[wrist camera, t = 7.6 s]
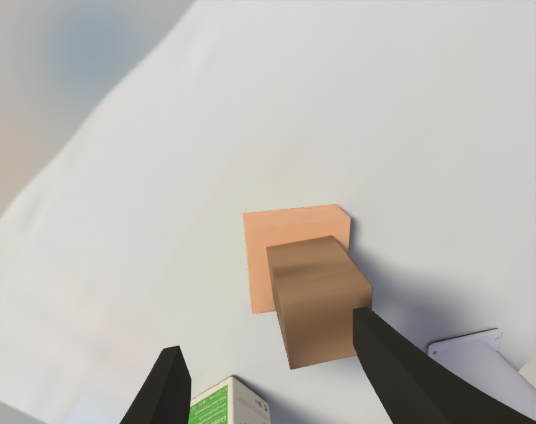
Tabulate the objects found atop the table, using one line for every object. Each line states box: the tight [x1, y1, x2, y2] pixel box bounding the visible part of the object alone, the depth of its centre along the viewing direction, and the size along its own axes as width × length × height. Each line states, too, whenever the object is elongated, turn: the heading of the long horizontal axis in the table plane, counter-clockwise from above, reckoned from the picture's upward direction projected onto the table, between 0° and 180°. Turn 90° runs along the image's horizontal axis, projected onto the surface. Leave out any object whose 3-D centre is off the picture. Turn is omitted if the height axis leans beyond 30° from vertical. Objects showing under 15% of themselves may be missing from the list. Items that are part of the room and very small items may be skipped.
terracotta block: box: [243, 204, 351, 314], centre depth 20 cm, size 7×7×3 cm
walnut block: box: [266, 235, 372, 370], centre depth 16 cm, size 4×4×6 cm
